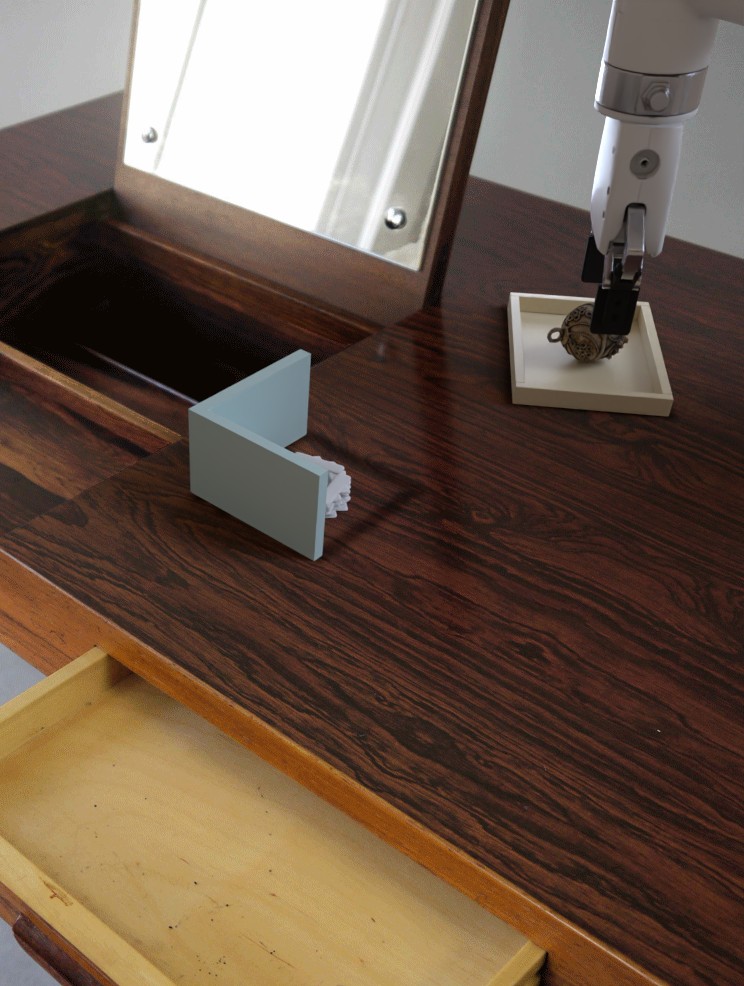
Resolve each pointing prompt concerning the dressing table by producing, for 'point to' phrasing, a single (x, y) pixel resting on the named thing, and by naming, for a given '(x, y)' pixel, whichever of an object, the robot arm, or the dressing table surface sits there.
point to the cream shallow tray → (583, 385)
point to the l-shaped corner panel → (266, 457)
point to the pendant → (585, 337)
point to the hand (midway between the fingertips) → (603, 306)
